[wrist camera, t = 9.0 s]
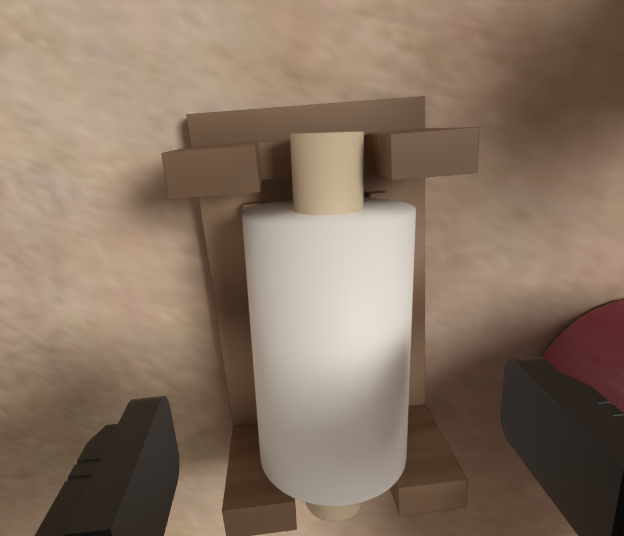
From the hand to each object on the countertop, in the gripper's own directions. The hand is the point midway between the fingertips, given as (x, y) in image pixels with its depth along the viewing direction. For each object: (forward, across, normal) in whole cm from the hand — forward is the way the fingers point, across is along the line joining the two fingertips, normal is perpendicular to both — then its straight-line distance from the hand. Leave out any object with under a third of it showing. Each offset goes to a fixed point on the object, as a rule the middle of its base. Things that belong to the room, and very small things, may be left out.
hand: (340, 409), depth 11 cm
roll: (+7, -2, +1) cm, 7 cm away
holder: (+9, 0, 0) cm, 9 cm away
